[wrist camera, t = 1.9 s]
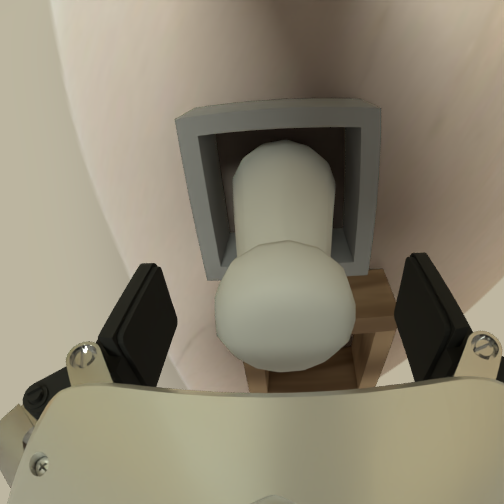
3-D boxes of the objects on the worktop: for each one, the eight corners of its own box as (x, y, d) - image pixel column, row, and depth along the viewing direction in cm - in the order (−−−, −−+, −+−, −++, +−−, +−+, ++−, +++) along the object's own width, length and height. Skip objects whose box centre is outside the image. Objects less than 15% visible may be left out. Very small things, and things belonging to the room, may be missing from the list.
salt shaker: (322, 125, 17) (397, 242, 6) (334, 209, 20) (380, 382, 9) (227, 142, 18) (148, 276, 7) (248, 222, 21) (216, 397, 10)
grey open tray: (195, 107, 17) (174, 119, 14) (360, 98, 16) (381, 108, 12) (218, 245, 22) (207, 280, 19) (355, 240, 21) (367, 275, 18)
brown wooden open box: (243, 274, 24) (235, 322, 19) (382, 268, 22) (400, 315, 18) (255, 359, 30) (251, 402, 25) (363, 354, 28) (371, 397, 24)
